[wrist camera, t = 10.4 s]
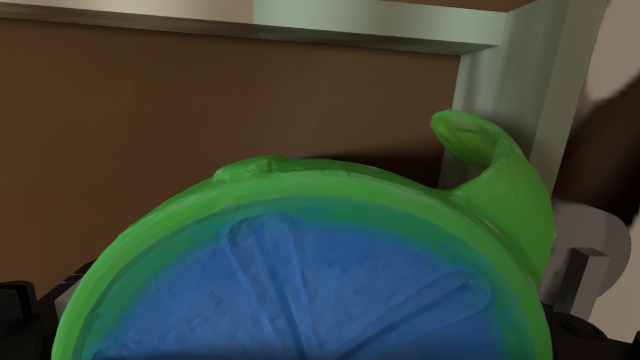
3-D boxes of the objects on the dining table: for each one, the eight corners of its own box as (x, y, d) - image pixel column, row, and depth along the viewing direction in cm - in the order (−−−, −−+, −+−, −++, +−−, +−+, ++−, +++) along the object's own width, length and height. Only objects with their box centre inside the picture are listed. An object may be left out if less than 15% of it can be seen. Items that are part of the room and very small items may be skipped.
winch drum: (459, 278, 19) (555, 385, 12) (481, 180, 17) (607, 238, 10) (533, 279, 19) (669, 383, 12) (561, 184, 17) (737, 242, 10)
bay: (-9, 360, 18) (-156, 486, 12) (-119, -24, 12) (-477, -128, 7) (424, 358, 20) (474, 463, 14) (488, 31, 15) (610, -12, 9)
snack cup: (376, 43, 14) (549, -98, 4) (481, 213, 16) (749, 391, 6) (132, 230, 16) (-164, 450, 6) (259, 355, 18) (199, 658, 8)
